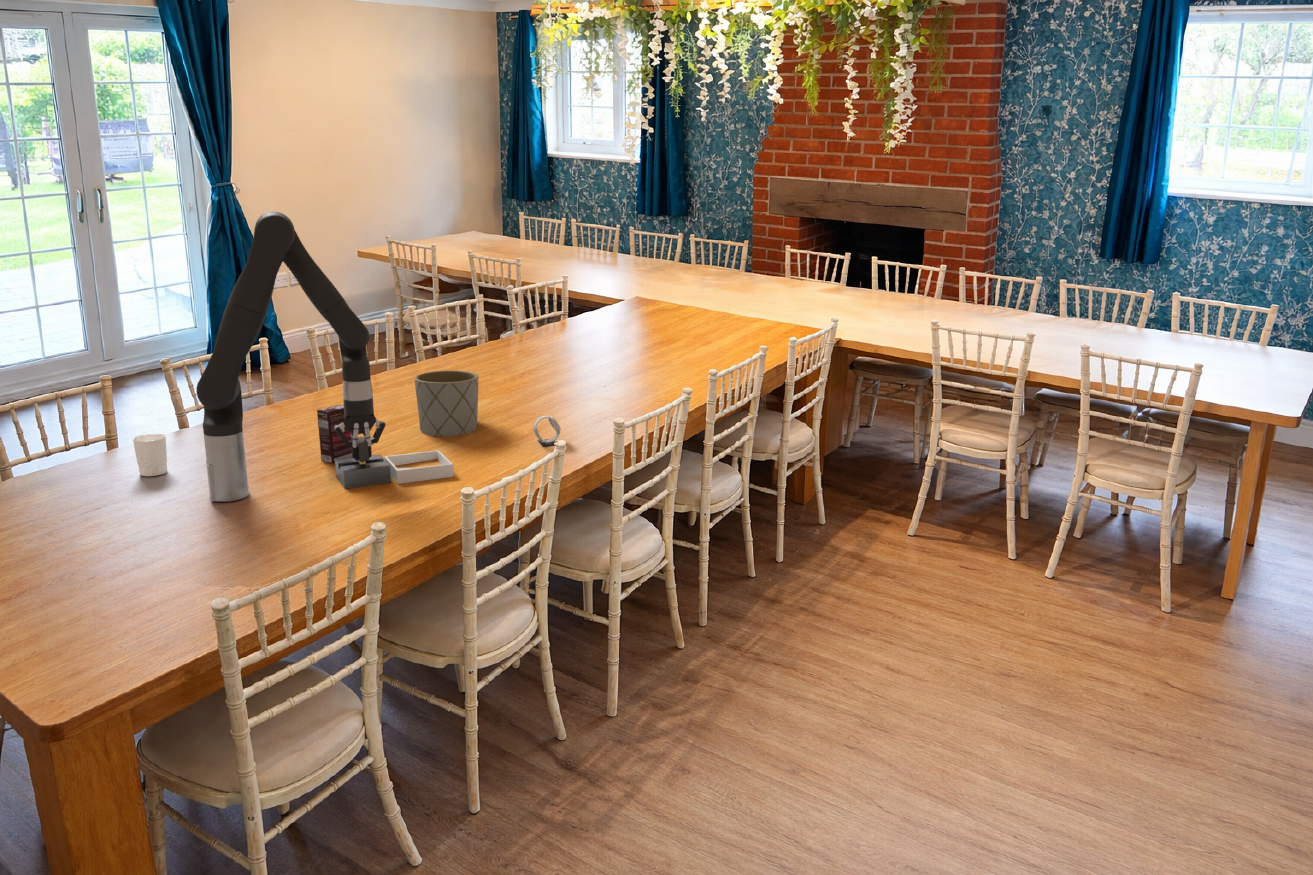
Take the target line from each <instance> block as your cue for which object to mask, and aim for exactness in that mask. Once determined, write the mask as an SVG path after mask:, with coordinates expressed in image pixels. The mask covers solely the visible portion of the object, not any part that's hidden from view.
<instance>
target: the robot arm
mask: <svg viewBox="0 0 1313 875" xmlns="http://www.w3.org/2000/svg"><path fill="white" fill-rule="evenodd" d="M251 241H252V242H251V246H250V250H249V253H248V254H249V255H248V257H247V260H246V264H245V265H244V268H243V270H242V271H241V273H240V275H239V277H238V279H237V281H236V282H235V284H234V286H233V288H232V291H231V292H230V295H229V298H228V301H227V303H226V306H225V309H224V311H223V315H222V319H221V322H220V325H219V328H218V331H217V335H216V340H215V344H214V348H213V351H212V353H211V355H210V358H209V360H208V362H207V365H206V366H205V369H204V370H203V372H202V375H201V377H200V378H199V380H198V382H197V385H196V396H197V399H198V402H200V404H201V405H202V406H203V422H202V429H203V430H202V432H203V439H204V450H205V458H206V460H205V462H206V473H207V482H208V491H209V498H210V502H233V501H238V500H239V501H240V500H241V499H242V500H243V499H245V498H247V497H248V496H249V495H250V490H249V482H248V481H249V480H248V470H247V469H248V468H247V460H246V451H245V438H244V429H243V421H244V420H243V419H244V413H243V412H244V410H243V409H244V408H243V397H242V387H241V385H242V384H241V381H240V380H239V377H240V373H241V369H242V366H243V364H244V362H245V359H246V357H247V355H248V354H249V353H250V351H251V349H252V347H253V346H254V343H255V342H256V340H257V338H258V335H259V333H260V332H261V329H262V327H263V324H264V322H265V319H266V316H267V314H268V310H269V308H270V304H271V301H272V296H273V293H274V288H275V283H276V280H277V279H276V278H277V275H278V274H279V273H278V272H279V271H280V269H281V266H282V264H283V263H284V265H285V266H286V267H287V268H288V270H289V271H290V272H291V274H292V275H293V277H294V279H295V281H297V283H298V285H300V287H301V289H302V290H303V292H304V294H305V295H306V297H307V298H308V299H309V301H310V302H311V303H312V305H313V306H314V308H315V309H316V310H317V312H319V313H320V315H321V317H322V318H323V319H324V320H326V321H327V323H328V324H329V325H330V326H331V328H332V329H333V331H334V332H335V334H336V335H337V336H338V344H339V350H340V356H341V369H342V370H341V372H342V393H341V394H342V400H343V405H344V419H343V423H341V424H339V425H335V426H334V429H335V430H336V432H337V433H338V435H339V436H340V438H341V439H342V441H343V442H344V444H345V445H346V446H350V447H351V450H352V456H351V458H352V457H353V459H355V460H356V461H359V460H358V448H357V440H358V437H359V435H363V437H364V438H365V439H366V440H367V442H368V452H369V459H370V457H371V456H372V455H373V453H372V446H373V445H375V444H377V443H379V440H380V438H381V436H382V434H383V432H384V431H385V430H384V429H386V426H387V425H386V423H385V421H383V420H379V419H377V418H376V416H375V410H374V396H373V393H374V392H373V385H372V379H371V378H372V377H371V376H372V375H371V366H370V361H369V358H368V352H367V345H368V344H369V341H370V332H369V330H368V328H367V326H366V325H365V324H364V323H363V321H362V320H361V319H360V317H358V316H357V314H356V313H355V312H354V311H353V310H352V309H351V308H350V306H349V305H348V303H347V301H346V299H345V298H344V297H343V296H342V294H341V293H340V292H339V290H338V289H337V288H336V286H335V285H334V284H333V282H332V281H331V280H330V279H329V277H328V276H327V275H326V274H325V273H324V271H323V270H322V269H321V268H320V266H319V265H318V264H317V263H316V262H315V260H314V259H313V257H312V256H311V255H310V253H309V252H308V250H307V249H306V247H305V246H304V244H303V243H302V241H301V238H300V237H299V236H298V233H297V231H296V229H295V225H294V224H293V221H292V220H291V219H290V218H289V217H288V216H287V215H285V213H283V212H280V211H266V212H265V213H262V214H261V215H260V216H259V217H258V219H257V220H256V222H255V225H254V231H253V237H252V240H251ZM345 426H346V427H347V428H348V430H349V431H350V432H351V441H349V440H348V439H347V438H346V436H345V435H344V433H343V432H344V431H345V430H344V427H345ZM374 426H375V428H376V429H375V431H374V433H373V435H372V437H371V430H372V428H374Z"/></svg>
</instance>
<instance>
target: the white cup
mask: <svg viewBox="0 0 1313 875" xmlns="http://www.w3.org/2000/svg"><path fill="white" fill-rule="evenodd" d="M166 438H167V437H166V435H165V434H163V433H146V434H142V435H138V436H134V437H133V438H132V443H133V447H134V453H135V458H136V463H137V466H138V472H139V475H140V476H142V477H154V476H161V475H165V474H166V473H167V472H168V464H167V463H168V455H167V440H166Z"/></svg>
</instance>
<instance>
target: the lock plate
mask: <svg viewBox="0 0 1313 875" xmlns="http://www.w3.org/2000/svg"><path fill="white" fill-rule="evenodd" d="M365 462H366V464H359V461H356V460H355V459H353V457H352V456H351V457H348V458H343V459H335V463H334V465H335V474H336V475H335V476H336V478H337V479H338V481H339V483H340V484H341V486H342V487H343V489H353V488H361V487H368V486H376V485H377V486H378V485H385V484H392V481H391V480H392V477H391V475H390V465H389V464H388V463H387V462H386V461H384V456H382V455H381V454H372V456H371V457H370V459H369V460H366V461H365Z"/></svg>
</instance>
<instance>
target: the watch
mask: <svg viewBox="0 0 1313 875" xmlns="http://www.w3.org/2000/svg"><path fill="white" fill-rule="evenodd" d="M545 419H548V422H549V424H550V425H551V427H552V428H553V430H554V431H555V432H556V433H555V434H554V436H553V437H552V438H549V439H548V438H547V439H543V438H542V437H541V435H540V433H539V430H538V424H539V423H540V422H541V421H542V420H545ZM561 429H562V428H561V426H560V424H559V423H558V421H557V420H556V419H555V417H554V416H553V415H551V416H550V415H547V414H546V415H540V416H538V417H537V418H536V419H535V421H534V423H533V432H534V435H535V436H536V438H537V442H538V443H539V444H540V446H541V447H542V448H545V447H553V446H555V445H554V442H556V440H557V439H558V438H559V437H560V434H561Z"/></svg>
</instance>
